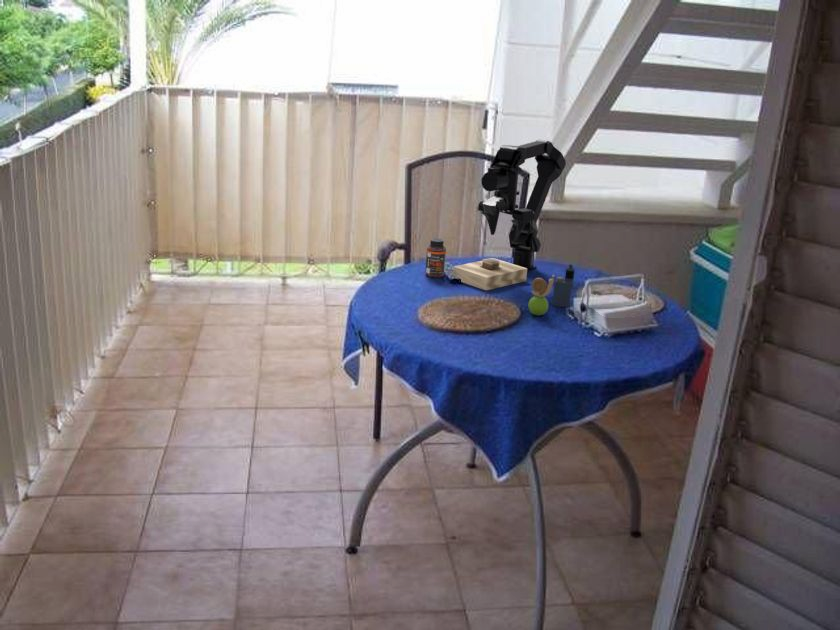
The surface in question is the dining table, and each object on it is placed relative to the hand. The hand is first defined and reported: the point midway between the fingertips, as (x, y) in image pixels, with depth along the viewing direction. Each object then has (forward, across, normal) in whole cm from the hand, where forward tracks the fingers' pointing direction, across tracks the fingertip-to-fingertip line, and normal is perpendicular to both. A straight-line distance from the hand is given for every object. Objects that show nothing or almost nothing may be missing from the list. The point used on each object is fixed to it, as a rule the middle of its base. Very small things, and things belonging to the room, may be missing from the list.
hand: (503, 237), depth 257 cm
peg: (+12, +2, -7) cm, 14 cm away
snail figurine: (+12, +33, -20) cm, 40 cm away
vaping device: (+12, +31, -8) cm, 34 cm away
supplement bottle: (+12, -11, -18) cm, 24 cm away
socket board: (+12, +2, -7) cm, 14 cm away
